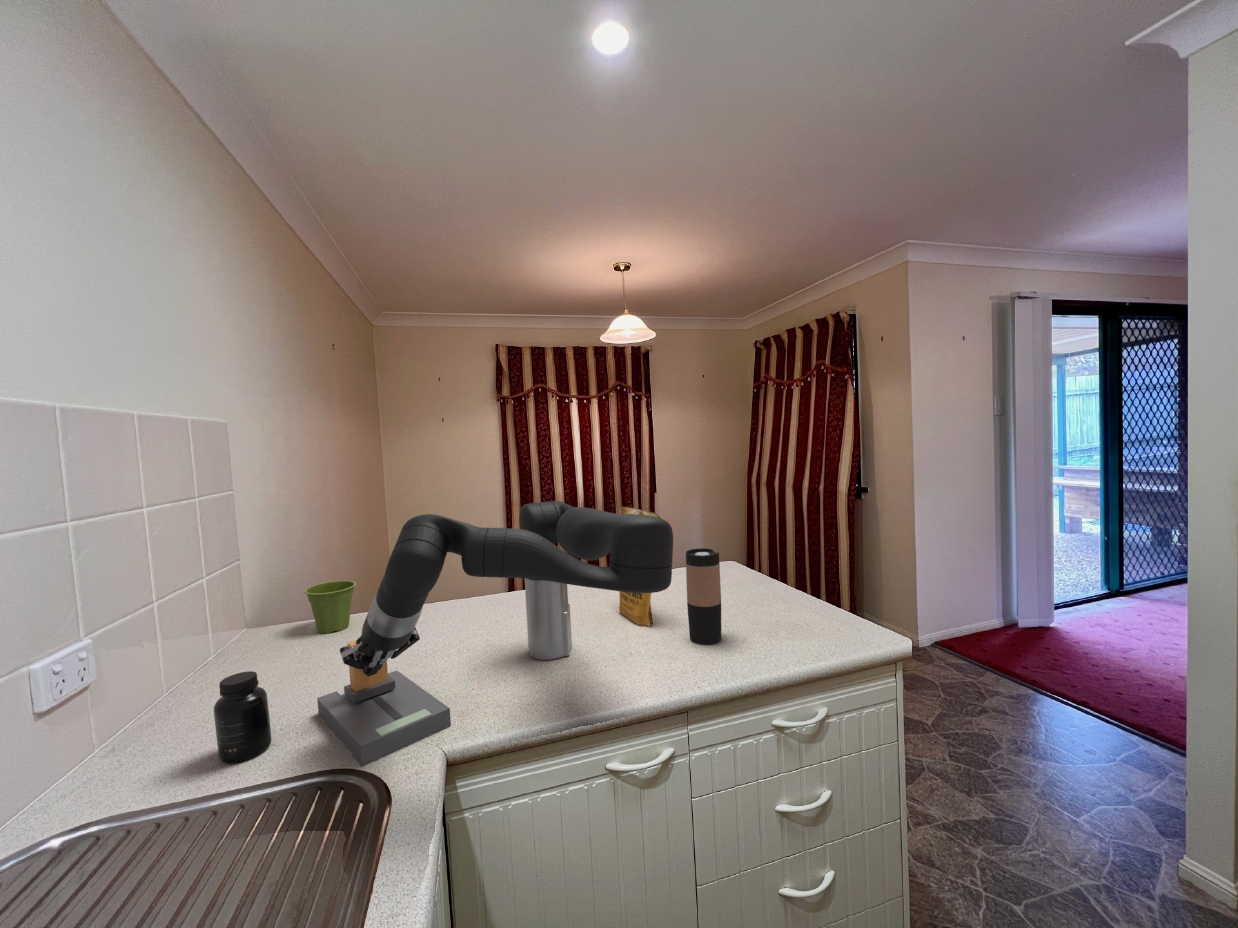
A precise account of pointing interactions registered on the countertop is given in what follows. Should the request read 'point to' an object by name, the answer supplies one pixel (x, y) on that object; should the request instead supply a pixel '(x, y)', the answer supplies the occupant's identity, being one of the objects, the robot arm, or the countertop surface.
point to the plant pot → (331, 604)
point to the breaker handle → (367, 682)
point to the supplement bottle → (241, 718)
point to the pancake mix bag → (636, 603)
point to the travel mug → (703, 596)
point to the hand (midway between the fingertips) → (370, 670)
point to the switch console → (384, 718)
